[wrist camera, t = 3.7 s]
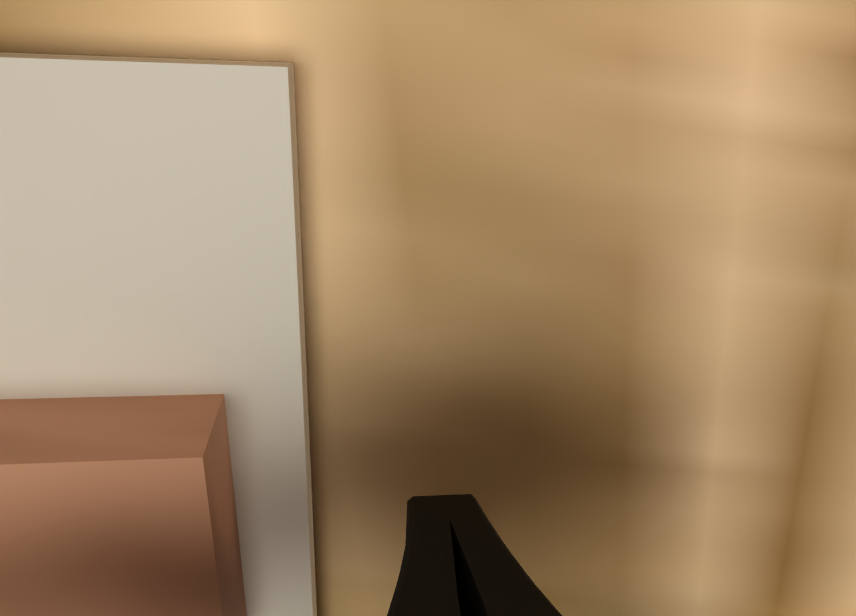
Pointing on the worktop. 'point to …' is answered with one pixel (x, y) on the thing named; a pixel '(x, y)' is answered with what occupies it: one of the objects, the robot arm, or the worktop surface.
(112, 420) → the block
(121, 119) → the board
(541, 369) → the worktop surface
